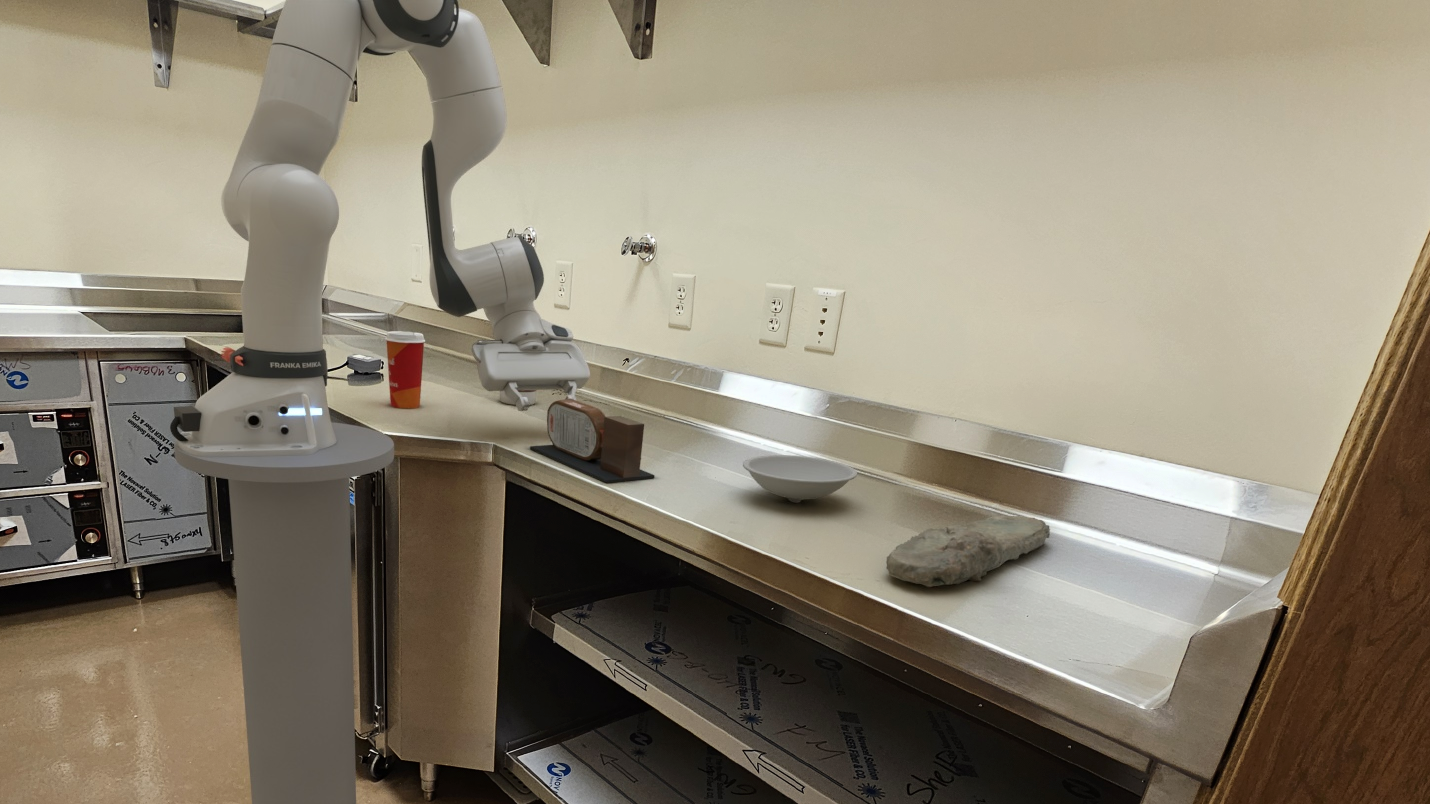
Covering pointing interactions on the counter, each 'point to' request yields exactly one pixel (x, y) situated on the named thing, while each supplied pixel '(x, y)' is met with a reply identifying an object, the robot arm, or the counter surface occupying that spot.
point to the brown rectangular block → (622, 446)
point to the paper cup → (405, 368)
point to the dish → (798, 475)
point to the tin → (576, 428)
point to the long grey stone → (965, 550)
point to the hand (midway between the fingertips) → (548, 407)
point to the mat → (585, 465)
